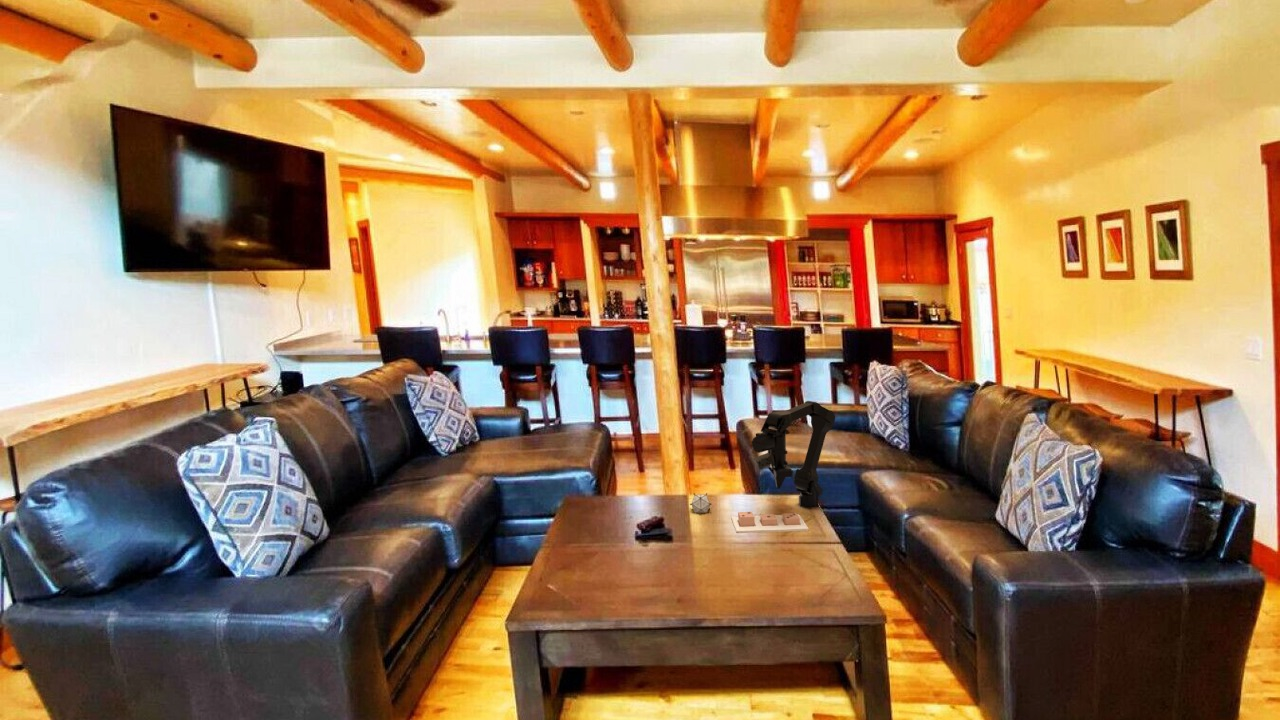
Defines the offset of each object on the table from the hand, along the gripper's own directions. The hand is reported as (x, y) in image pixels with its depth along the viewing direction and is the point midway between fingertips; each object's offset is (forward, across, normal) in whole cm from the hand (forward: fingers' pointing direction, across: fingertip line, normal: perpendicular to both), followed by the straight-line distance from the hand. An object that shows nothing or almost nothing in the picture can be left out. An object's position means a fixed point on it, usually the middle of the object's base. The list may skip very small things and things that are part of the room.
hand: (778, 488), depth 223 cm
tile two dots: (+10, +7, -14) cm, 19 cm away
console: (+12, +8, -6) cm, 15 cm away
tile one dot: (+12, +8, -6) cm, 15 cm away
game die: (+12, -9, -28) cm, 32 cm away
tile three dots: (+12, +8, +2) cm, 14 cm away
